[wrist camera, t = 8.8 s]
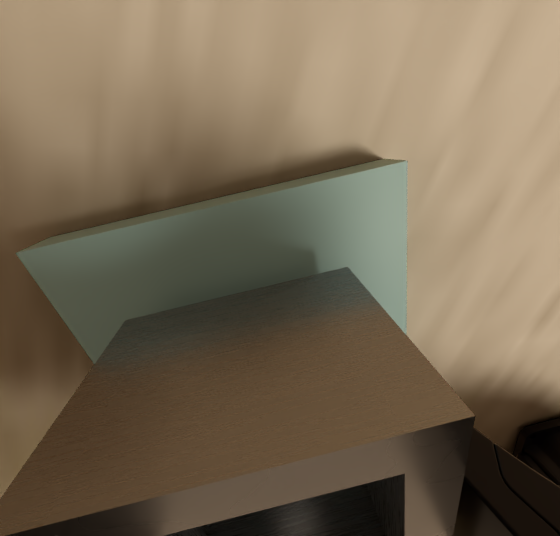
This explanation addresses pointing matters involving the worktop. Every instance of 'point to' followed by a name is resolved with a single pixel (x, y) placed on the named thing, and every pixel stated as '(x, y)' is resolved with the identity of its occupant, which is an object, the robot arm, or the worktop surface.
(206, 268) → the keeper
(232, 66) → the worktop surface
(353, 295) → the link
